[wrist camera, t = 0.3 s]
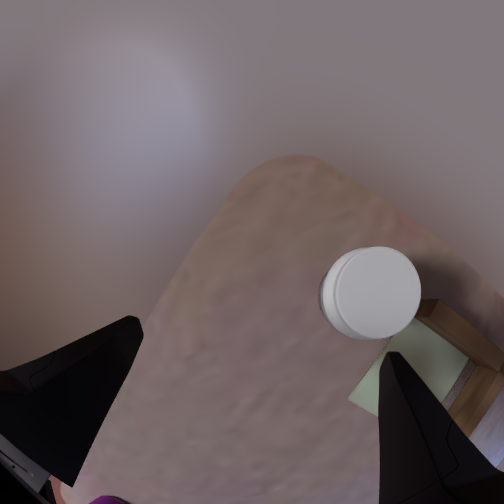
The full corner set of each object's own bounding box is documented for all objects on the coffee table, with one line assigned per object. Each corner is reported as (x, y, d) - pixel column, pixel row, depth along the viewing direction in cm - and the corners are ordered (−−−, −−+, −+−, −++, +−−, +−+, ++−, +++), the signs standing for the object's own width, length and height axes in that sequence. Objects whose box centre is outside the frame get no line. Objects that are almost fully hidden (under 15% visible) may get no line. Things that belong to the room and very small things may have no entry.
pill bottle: (377, 258, 22) (422, 230, 12) (385, 323, 21) (435, 337, 11) (313, 267, 23) (319, 243, 13) (320, 333, 22) (332, 358, 12)
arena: (423, 456, 17) (437, 474, 13) (336, 410, 20) (341, 429, 16) (491, 357, 18) (514, 362, 14) (415, 296, 21) (434, 295, 17)
